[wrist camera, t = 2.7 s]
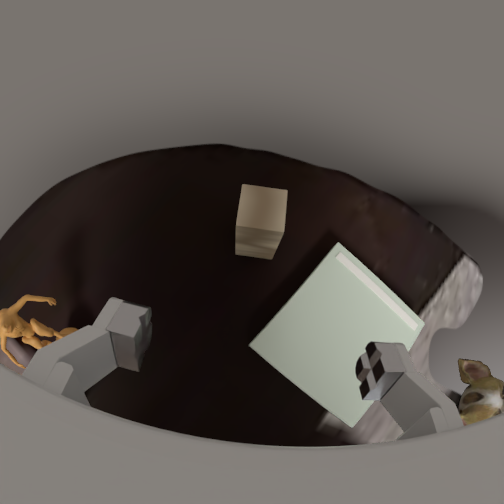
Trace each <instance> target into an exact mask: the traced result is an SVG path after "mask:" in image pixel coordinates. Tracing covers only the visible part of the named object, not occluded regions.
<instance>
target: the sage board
mask: <svg viewBox="0 0 504 504" xmlns="http://www.w3.org/2000/svg"><path fill="white" fill-rule="evenodd" d="M424 324H425V323H424V322H423V321H422V320H421V319H420V318H419V317H418V316H417V315H416V314H415V313H414V312H413V311H412V310H411V309H410V308H409V307H408V306H407V305H406V304H405V303H404V302H403V301H402V300H401V299H400V298H399V297H398V296H397V295H395V294H394V293H393V292H392V291H391V290H390V289H389V288H388V287H387V286H386V285H385V284H384V283H383V282H382V281H381V280H380V279H379V278H377V277H376V276H375V275H374V274H373V273H372V272H371V271H370V270H369V269H368V268H367V267H366V266H364V265H363V264H362V263H361V262H360V261H359V260H358V259H357V258H356V257H354V256H353V255H352V254H351V253H350V252H349V251H348V250H347V249H345V248H344V247H343V246H342V245H341V244H340V243H339V242H338V243H337V244H336V245H335V246H334V247H333V248H332V249H331V250H330V251H329V252H328V254H327V255H326V256H325V257H324V259H323V260H322V261H321V262H320V263H319V265H318V266H317V267H316V268H315V269H314V271H313V272H312V273H311V274H310V275H309V277H308V278H307V279H306V280H305V281H304V283H303V284H302V285H301V286H300V287H299V288H298V290H297V291H296V292H295V293H294V294H293V295H292V297H291V298H290V299H289V300H288V301H287V302H286V304H285V305H284V306H283V307H282V308H281V309H280V310H279V311H278V313H277V314H276V315H275V316H274V317H273V318H272V319H271V321H270V322H269V323H268V324H267V325H266V326H265V327H264V328H263V329H262V330H261V332H260V333H259V334H258V335H257V336H256V337H255V338H254V339H253V340H252V341H251V343H250V344H249V346H250V347H251V348H252V349H253V350H254V351H256V352H257V353H258V354H259V355H260V356H261V357H262V358H264V359H265V360H266V361H267V362H268V363H269V364H271V365H272V366H273V367H274V368H275V369H277V370H278V371H279V372H280V373H281V374H283V375H284V376H285V377H286V378H287V379H289V380H290V381H291V382H292V383H294V384H295V385H296V386H297V387H298V388H300V389H301V390H302V391H303V392H305V393H306V394H307V395H309V396H310V397H311V398H312V399H314V400H315V401H316V402H317V403H319V404H320V405H321V406H323V407H324V408H325V409H327V410H328V411H329V412H330V413H332V414H333V415H334V416H336V417H337V418H338V419H340V420H341V421H343V422H344V423H345V424H347V425H348V426H350V427H352V428H353V427H354V425H355V424H356V423H357V422H358V421H359V419H360V418H361V417H362V416H363V414H364V413H365V412H366V411H367V409H368V408H369V407H370V406H371V404H372V403H373V402H374V400H362V397H361V393H360V389H359V386H360V384H361V382H360V381H359V380H358V379H357V377H356V373H355V367H356V362H357V360H358V358H359V357H360V355H362V354H364V353H365V352H366V350H365V347H366V346H367V344H368V343H369V342H371V341H374V342H391V343H392V342H393V343H403V344H404V345H405V347H406V349H407V351H409V350H410V348H411V346H412V345H413V343H414V341H415V340H416V338H417V336H418V335H419V333H420V331H421V329H422V328H423V326H424Z"/></svg>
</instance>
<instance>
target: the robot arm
mask: <svg viewBox="0 0 504 504" xmlns="http://www.w3.org/2000/svg"><path fill="white" fill-rule="evenodd" d="M151 316H152V313H151V308H150V307H148V306H144V305H141V304H137V303H133V302H129V301H126V300H121V299H118V298H114V297H112V298H110V299H109V300H108V302H107V303H106V305H105V306H104V308H103V309H102V311H101V312H100V314H99V316H98V317H97V319H96V320H95V322H94V324H93V325H92V326H90V325H87V326H85V327H83V328H81V329H79V330H77V331H75V332H73V333H71V334H69V335H67V336H65V337H63V338H61V339H59V340H57V341H55V342H53V343H51V344H49V345H47V346H45V347H43V348H41V349H39V350H38V351H37V352H36V354H35V355H34V357H33V358H32V360H31V361H30V363H29V364H28V366H27V368H26V369H25V371H24V372H23V374H22V375H20V374H19V373H17V372H15V371H13V370H12V369H10V368H8V367H6V366H5V365H3V364H1V363H0V504H504V413H502V414H499V415H496V416H493V417H491V418H488V419H485V420H482V421H479V422H476V423H472V424H469V425H466V426H464V425H463V422H462V419H461V417H460V414H459V412H458V409H457V407H456V405H455V403H454V402H453V401H452V400H451V399H449V398H448V397H447V396H446V395H445V394H444V393H443V392H442V391H440V390H439V389H438V388H437V387H436V386H435V385H434V384H432V383H431V382H430V381H429V380H428V379H427V378H426V377H424V376H423V375H422V374H421V373H420V372H417V371H416V369H415V367H414V364H413V362H412V360H411V358H410V355H409V353H408V351H407V349H406V347H405V345H404V344H403V343H393V342H392V343H391V342H374V341H371V342H369V343H368V344H367V346H366V347H365V350H366V352H365V353H364V354H362V355H360V357H359V358H358V360H357V362H356V367H355V373H356V377H357V379H358V380H359V381H360V382H361V384H360V386H359V389H360V393H361V397H362V400H380V402H381V403H382V405H383V406H384V407H385V408H386V410H387V411H388V412H389V413H390V415H391V416H392V417H393V418H394V420H395V421H396V422H397V423H398V425H399V426H400V427H401V428H402V430H403V431H404V433H403V434H402V435H400V436H399V437H398V438H397V439H396V441H390V442H382V443H373V444H363V445H350V446H329V447H291V446H270V445H257V444H246V443H237V442H229V441H222V440H215V439H209V438H203V437H197V436H192V435H187V434H182V433H177V432H172V431H168V430H164V429H160V428H156V427H152V426H148V425H144V424H141V423H137V422H134V421H131V420H127V419H124V418H121V417H118V416H115V415H112V414H109V413H106V412H103V411H100V410H98V409H95V408H92V407H91V406H90V404H89V402H88V400H87V398H86V396H85V394H84V392H85V391H86V390H87V389H89V388H90V387H91V386H93V385H94V384H95V383H97V382H98V381H99V380H101V379H102V378H103V377H105V376H106V375H107V374H109V373H110V372H111V371H113V370H114V369H115V368H117V366H119V367H123V368H127V369H130V370H134V371H138V372H139V370H140V368H141V365H142V362H143V360H144V351H145V350H147V349H148V347H149V344H150V341H151V336H152V324H151V322H150V321H149V320H150V318H151Z"/></svg>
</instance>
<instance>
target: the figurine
mask: <svg viewBox="0 0 504 504" xmlns="http://www.w3.org/2000/svg"><path fill="white" fill-rule="evenodd" d="M54 300H55V299H53V298H50V297H41V296H32V295H25V296H23V297H22V298H21V299H20V300H19V301H18V302H17V303H16V304H14V305H12V306H11V307H10V308H9V309H2V310H0V337H1V348H2V350H3V352H4V353H6V354H7V355H8V356H9V358H10V359H11V360H12V361H13V362H14V363H15V364H16V365H18V366H20V367H22V368H26V367H24V366H23V365H22V364H19V363H18V362H17V360H16V359H15V357H14V356H13V355H12V354H11V353H10V352H9V351H8V350H7V349H6V341H7V336H8V337H13V338H15V337H18V336H23V338H22V341H23V342H24V343H27V344H30V345H32V346H33V347H35V348H37V349H41V348H43V347H45V346H47V345H49V344H51V343H52V342H50V341H47V340H43V341H42V342H41V341H40V340H39V338H37V337H35V336H32V335H34V331H35V332H36V333H37V334H38V335H40V336H48V337H51V336H53V335H55V336H57V338H56V341H57V340H59V339H61V338H63V337H65V336H67V335H69V334H71V333H73V332H75V331H77V330H78V329H76V328H72V327H69V328H65V329H63V330H62V331H60V332H57V331H55V330H53V329H52V328H48V327H46V326H45V325H43V324H41V323H39V322H38V321H37V320H36V319H31V321H30V324H28V323H27V322H25V321H24V320H23V319H22V318H21V317H20V316H19V315H17V313H18V311H19V310H20V309H21V307H22V306H23V305H24V304H25V303H26V301H39V302H43V301H48V302H49V304H50V305H51V303H53V304H55V303H54V302H56V301H54ZM56 303H57V302H56ZM55 305H56V304H55ZM51 306H52V305H51Z"/></svg>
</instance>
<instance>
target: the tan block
mask: <svg viewBox="0 0 504 504" xmlns="http://www.w3.org/2000/svg"><path fill="white" fill-rule="evenodd" d="M287 192H288V190H281V189H275V188H268V187H261V186H254V185H246V184H242V190H241V196H240V202H239V208H238V215H237V221H236V242H235V254H236V255H243V256H250V257H258V258H265V259H272V258H273V256H274V254H275V252H276V249H277V247H278V245H279V243H280V240H281V238H282V236H283V234H284V228H285V217H286V205H287Z"/></svg>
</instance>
